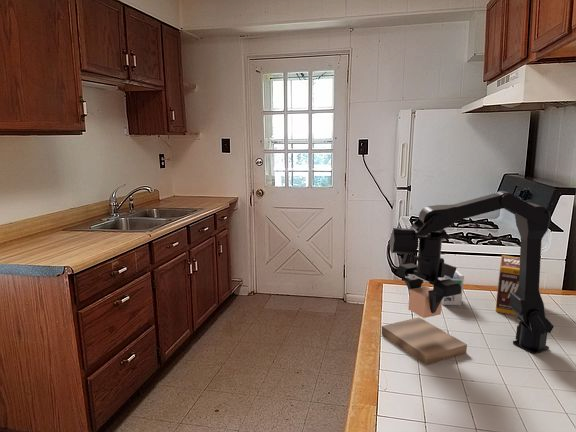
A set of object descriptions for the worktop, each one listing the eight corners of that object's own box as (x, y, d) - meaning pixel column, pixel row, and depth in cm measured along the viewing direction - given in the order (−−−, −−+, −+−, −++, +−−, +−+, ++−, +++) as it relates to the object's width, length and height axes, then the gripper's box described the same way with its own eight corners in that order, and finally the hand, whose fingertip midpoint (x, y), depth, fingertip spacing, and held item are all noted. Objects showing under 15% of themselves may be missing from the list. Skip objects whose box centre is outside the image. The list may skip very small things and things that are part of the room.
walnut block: (466, 354, 110) (467, 344, 110) (426, 367, 105) (427, 356, 104) (418, 326, 126) (418, 317, 126) (381, 335, 120) (381, 326, 120)
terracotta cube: (440, 314, 113) (442, 293, 111) (423, 318, 110) (425, 297, 109) (424, 305, 118) (426, 286, 117) (408, 309, 115) (409, 289, 114)
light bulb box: (461, 305, 140) (464, 275, 138) (441, 305, 141) (444, 275, 138) (450, 293, 151) (453, 265, 149) (431, 293, 151) (434, 265, 149)
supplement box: (495, 312, 136) (500, 266, 133) (496, 296, 149) (501, 254, 146) (531, 318, 131) (538, 272, 128) (529, 301, 144) (535, 258, 141)
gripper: (479, 260, 106) (473, 316, 109) (427, 242, 122) (423, 292, 125) (447, 265, 101) (441, 324, 104) (397, 246, 118) (393, 297, 121)
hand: (424, 308), depth 114 cm, fingers closed on terracotta cube, 6 cm apart
